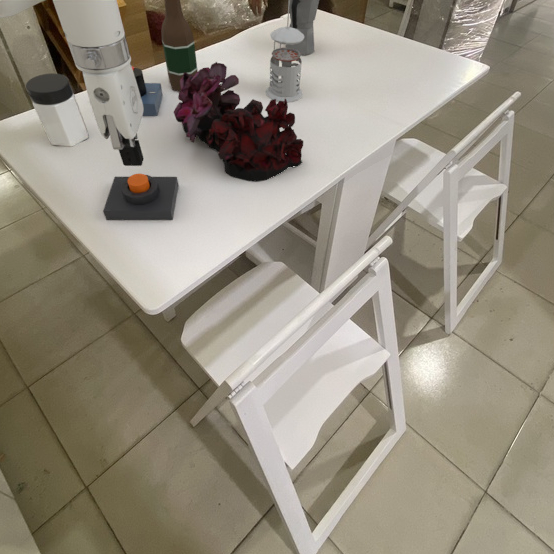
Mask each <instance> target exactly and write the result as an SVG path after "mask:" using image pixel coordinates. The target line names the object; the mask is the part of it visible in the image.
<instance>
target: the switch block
mask: <svg viewBox="0 0 554 554" xmlns="http://www.w3.org/2000/svg"><path fill="white" fill-rule="evenodd" d="M145 175H146V176H147V177H148V181H149V184H150V188H149V189H148V190H147V191H145V192H142V193H133V192H132V191H131V190H130V188H129V185H128V178H129V177H130V176H113V177H114V178H113V181H112V183H111V186H110V190H109V193H108V196H107V199H106V202H105V205H104V207H103V210H102V213H103V215H104V217H105V219H106V221H173V220H174V214H175V209H176V202H177V199H178V191H179V181H178V180H179V179H178V176H151V175H149V174H145Z"/></svg>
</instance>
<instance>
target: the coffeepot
mask: <svg viewBox="0 0 554 554" xmlns="http://www.w3.org/2000/svg"><path fill="white" fill-rule="evenodd" d="M319 4H320V0H290V4H289V18H290V19H289V20H290V23H289V25H288V27H291V28H295V29H297V30H299V31H300V32H301V33H302V34H304V39H303V41H302V42H300V43H298V44H293V45H287V48H291V49H295V50H297V51H299V52H300V54H301V56H303V57H304V56H309V55H312V54H313V53H314V52H315V33H314V21H315V20H316V16H317V11H318V7H319ZM301 56H300V57H301Z"/></svg>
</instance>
